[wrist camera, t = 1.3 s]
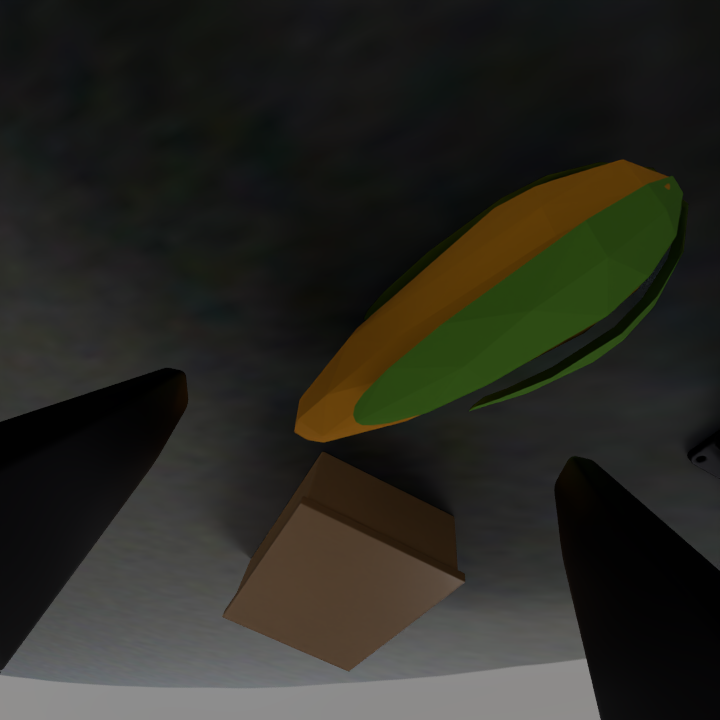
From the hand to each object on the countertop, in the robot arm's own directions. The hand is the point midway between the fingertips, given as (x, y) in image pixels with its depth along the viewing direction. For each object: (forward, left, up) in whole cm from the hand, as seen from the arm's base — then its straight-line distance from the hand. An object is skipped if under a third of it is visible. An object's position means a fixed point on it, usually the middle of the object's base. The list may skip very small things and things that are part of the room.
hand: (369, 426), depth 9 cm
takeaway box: (-7, +22, -13) cm, 27 cm away
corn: (-3, +1, -14) cm, 14 cm away
